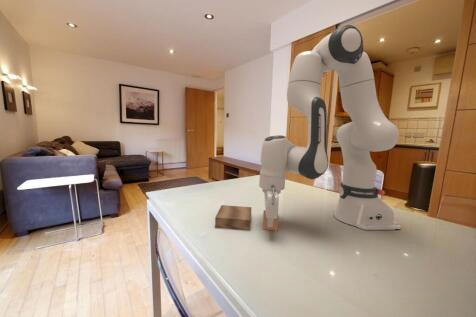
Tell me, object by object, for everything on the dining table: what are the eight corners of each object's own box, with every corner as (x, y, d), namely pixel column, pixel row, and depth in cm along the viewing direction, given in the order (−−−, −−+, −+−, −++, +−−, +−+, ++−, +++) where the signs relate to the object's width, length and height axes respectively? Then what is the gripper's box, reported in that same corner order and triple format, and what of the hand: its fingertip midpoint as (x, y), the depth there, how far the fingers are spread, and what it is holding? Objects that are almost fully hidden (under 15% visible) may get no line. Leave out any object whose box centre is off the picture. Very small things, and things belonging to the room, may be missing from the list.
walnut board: (251, 216, 82) (251, 207, 81) (249, 231, 70) (250, 220, 69) (221, 214, 83) (221, 205, 82) (215, 228, 71) (215, 217, 71)
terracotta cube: (276, 224, 75) (277, 211, 75) (277, 230, 71) (278, 216, 70) (262, 223, 76) (263, 210, 75) (263, 229, 71) (263, 215, 70)
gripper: (284, 191, 61) (281, 235, 63) (278, 176, 81) (276, 210, 83) (263, 190, 61) (260, 233, 63) (262, 175, 82) (260, 209, 83)
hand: (269, 220), depth 73 cm, fingers open, 8 cm apart
